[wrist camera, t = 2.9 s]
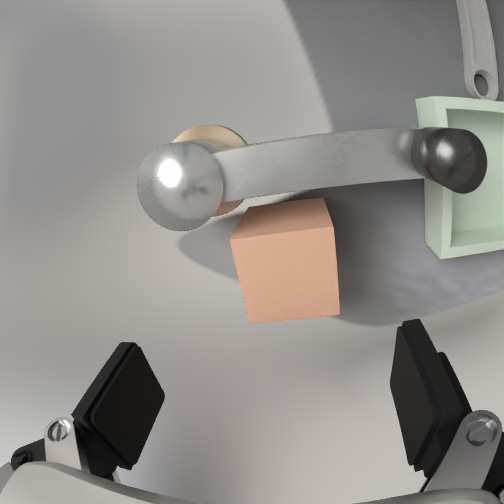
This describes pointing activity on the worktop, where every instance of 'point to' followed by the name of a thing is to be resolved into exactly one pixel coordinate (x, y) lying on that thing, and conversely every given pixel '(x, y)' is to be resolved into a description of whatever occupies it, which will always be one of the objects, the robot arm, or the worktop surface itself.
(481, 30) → the adjustable wrench
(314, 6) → the worktop surface
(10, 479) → the robot arm
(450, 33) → the worktop surface
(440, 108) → the tray
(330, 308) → the block
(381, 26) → the worktop surface
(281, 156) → the crank
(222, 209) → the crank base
